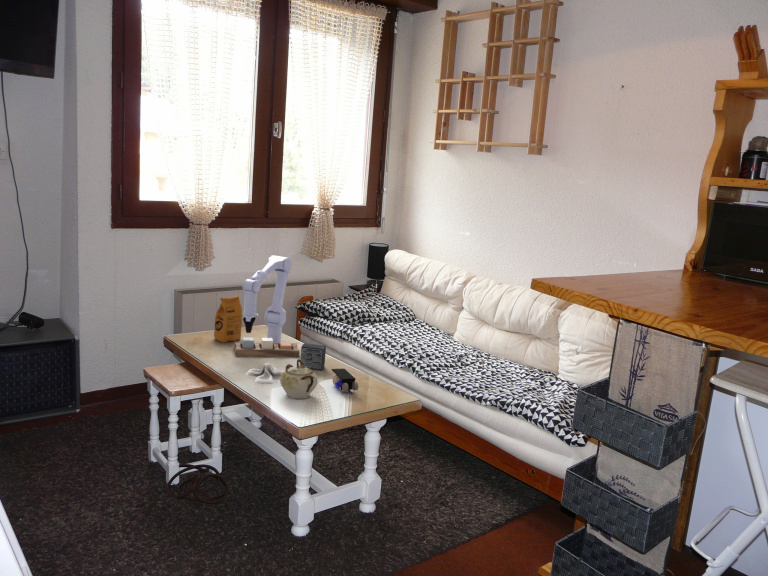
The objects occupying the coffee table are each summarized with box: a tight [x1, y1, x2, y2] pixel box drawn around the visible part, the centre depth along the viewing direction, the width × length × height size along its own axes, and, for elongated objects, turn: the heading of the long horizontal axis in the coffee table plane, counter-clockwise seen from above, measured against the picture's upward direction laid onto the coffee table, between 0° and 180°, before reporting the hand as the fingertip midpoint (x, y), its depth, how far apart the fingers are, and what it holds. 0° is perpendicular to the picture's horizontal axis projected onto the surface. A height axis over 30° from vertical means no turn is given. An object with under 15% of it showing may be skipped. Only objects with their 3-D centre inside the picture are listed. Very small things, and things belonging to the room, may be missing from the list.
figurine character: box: [331, 368, 359, 396], centre depth 272 cm, size 7×8×15 cm
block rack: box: [233, 341, 301, 358], centre depth 313 cm, size 12×30×3 cm, turn 105°
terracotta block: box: [280, 342, 292, 349], centre depth 316 cm, size 5×5×4 cm
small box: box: [299, 342, 327, 372], centre depth 297 cm, size 11×6×10 cm, turn 84°
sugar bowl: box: [279, 358, 319, 400], centre depth 260 cm, size 20×15×15 cm
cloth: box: [245, 362, 285, 384], centre depth 282 cm, size 22×19×6 cm
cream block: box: [260, 337, 273, 349], centre depth 313 cm, size 5×5×4 cm
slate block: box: [242, 336, 255, 349], centre depth 310 cm, size 5×5×4 cm
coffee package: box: [213, 295, 243, 343], centre depth 327 cm, size 10×12×22 cm
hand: (248, 332), depth 309 cm, fingers closed
